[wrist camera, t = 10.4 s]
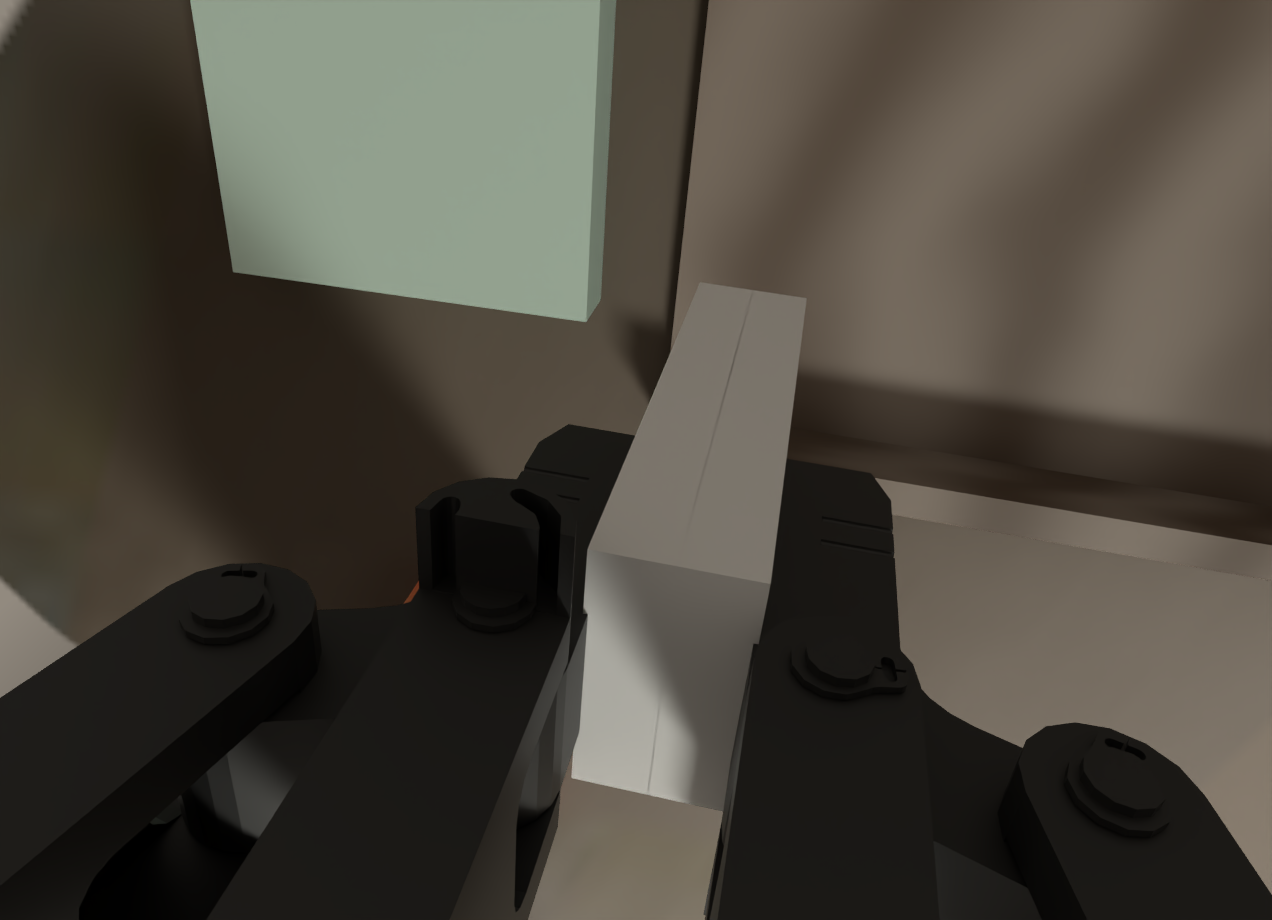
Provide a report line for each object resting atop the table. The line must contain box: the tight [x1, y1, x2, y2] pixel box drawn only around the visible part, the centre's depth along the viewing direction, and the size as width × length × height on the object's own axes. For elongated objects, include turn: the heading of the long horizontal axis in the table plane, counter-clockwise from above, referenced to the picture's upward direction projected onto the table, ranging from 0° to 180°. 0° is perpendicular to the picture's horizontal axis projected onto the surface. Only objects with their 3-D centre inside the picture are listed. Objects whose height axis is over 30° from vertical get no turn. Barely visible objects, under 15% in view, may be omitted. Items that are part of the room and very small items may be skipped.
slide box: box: [670, 0, 1272, 581], centre depth 25 cm, size 23×20×3 cm
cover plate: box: [190, 0, 616, 322], centre depth 28 cm, size 12×12×2 cm
